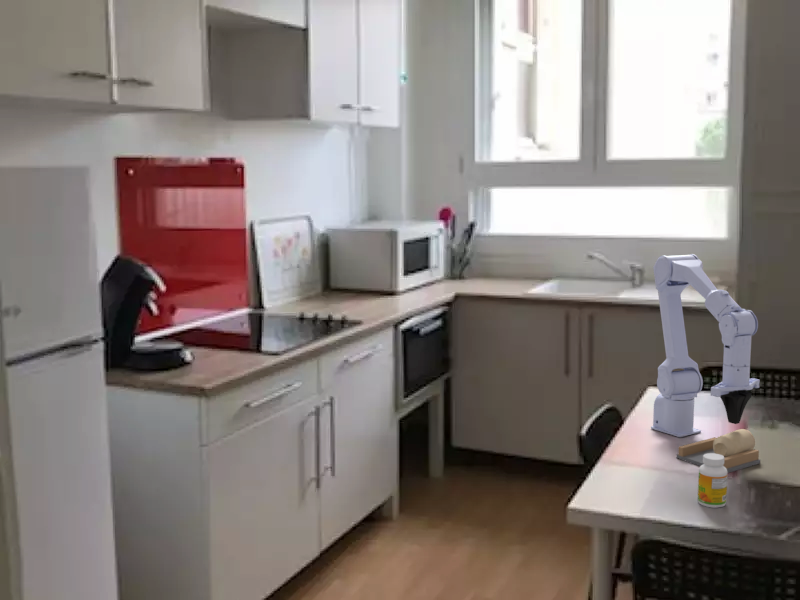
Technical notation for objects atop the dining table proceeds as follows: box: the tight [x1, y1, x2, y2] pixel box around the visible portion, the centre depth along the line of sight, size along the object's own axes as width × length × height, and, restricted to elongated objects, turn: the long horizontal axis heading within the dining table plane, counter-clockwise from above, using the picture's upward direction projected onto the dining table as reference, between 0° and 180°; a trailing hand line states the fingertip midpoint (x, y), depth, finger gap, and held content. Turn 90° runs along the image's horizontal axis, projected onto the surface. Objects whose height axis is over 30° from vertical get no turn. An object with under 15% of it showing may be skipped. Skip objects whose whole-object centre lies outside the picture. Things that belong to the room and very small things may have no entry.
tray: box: [676, 437, 761, 474], centre depth 208 cm, size 13×12×3 cm
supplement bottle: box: [697, 453, 728, 509], centre depth 183 cm, size 5×5×10 cm
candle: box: [713, 428, 756, 458], centre depth 208 cm, size 6×6×10 cm
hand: (733, 422), depth 210 cm, fingers closed
